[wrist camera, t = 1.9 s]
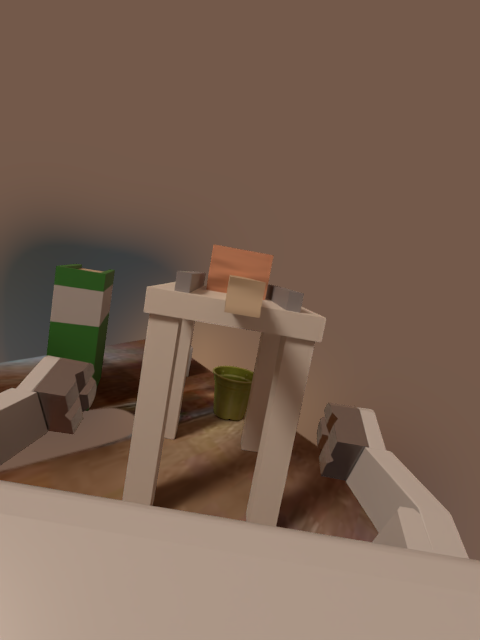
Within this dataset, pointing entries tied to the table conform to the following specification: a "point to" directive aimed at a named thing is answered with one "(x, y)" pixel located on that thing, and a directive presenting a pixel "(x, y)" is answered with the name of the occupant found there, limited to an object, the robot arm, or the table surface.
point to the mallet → (240, 278)
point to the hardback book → (80, 315)
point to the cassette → (189, 361)
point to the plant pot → (231, 391)
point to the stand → (265, 394)
